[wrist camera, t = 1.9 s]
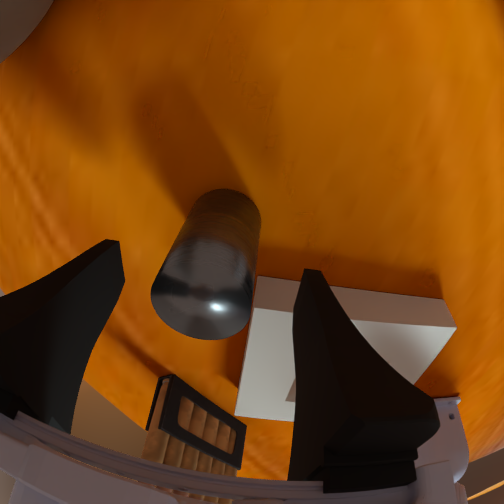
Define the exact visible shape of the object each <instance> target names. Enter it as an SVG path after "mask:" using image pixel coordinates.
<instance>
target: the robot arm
mask: <svg viewBox="0 0 504 504" xmlns="http://www.w3.org/2000/svg"><path fill="white" fill-rule="evenodd" d="M124 283H125V277H124V271H123V264H122V258H121V250H120V243H119V241H115V240H109V239H105V240H103V241H101V242H100V243H98V244H96V245H95V246H93V247H91V248H90V249H88V250H87V251H85V252H84V253H82V254H80V255H79V256H77V257H76V258H74V259H73V260H71V261H69V262H68V263H66V264H65V265H63V266H61V267H60V268H58V269H56V270H55V271H53V272H51V273H50V274H48V275H46V276H45V277H43V278H41V279H39V280H37V281H35V282H33V283H31V284H29V285H27V286H25V287H23V288H21V289H18V290H16V291H14V292H11V293H9V294H7V295H4V296H2V297H0V470H2V471H4V472H5V473H7V474H8V475H10V476H11V477H13V478H15V479H16V481H15V484H14V487H13V490H12V493H11V496H10V500H9V503H8V504H218V503H212V502H207V501H203V500H198V499H194V498H189V497H185V496H181V495H177V494H173V493H169V492H166V491H163V490H160V489H158V488H155V487H153V486H150V485H147V484H143V483H140V482H137V481H141V482H144V483H148V484H152V485H156V486H160V487H164V488H168V489H173V490H178V491H183V492H188V493H193V494H199V495H204V496H211V497H218V498H225V499H233V500H234V501H232V504H468V501H467V496H466V491H465V487H464V486H463V485H461V484H459V483H455V482H456V481H458V480H459V479H460V478H461V477H462V476H463V474H464V473H465V471H466V469H467V466H468V461H469V449H468V444H467V440H466V436H465V432H464V429H463V425H462V421H461V418H460V414H459V410H458V407H457V404H458V403H459V402H460V401H461V398H460V397H449V398H437V399H433V398H431V397H430V396H428V395H427V394H426V393H424V392H423V391H421V390H420V389H419V388H417V387H416V386H414V385H413V384H412V383H410V382H409V381H408V380H407V379H405V378H404V377H403V376H402V375H401V374H399V373H398V372H397V371H396V370H395V369H394V368H393V367H392V366H390V365H389V364H388V363H387V362H386V361H385V360H384V359H383V358H382V357H381V356H380V355H379V354H378V353H377V352H376V350H375V349H374V348H373V347H372V346H371V345H370V344H369V343H368V341H367V340H366V339H365V338H364V337H363V336H362V334H361V333H360V332H359V331H358V329H357V328H356V327H355V325H354V324H353V322H352V321H351V320H350V318H349V317H348V315H347V314H346V312H345V311H344V309H343V308H342V306H341V305H340V303H339V301H338V300H337V298H336V297H335V295H334V293H333V291H332V290H331V288H330V286H329V285H328V283H327V281H326V279H325V278H324V276H323V274H322V273H321V271H319V270H312V269H305V268H304V272H303V275H302V279H301V282H300V286H299V290H298V293H297V297H296V300H295V304H294V307H293V323H292V336H293V350H294V363H295V377H296V397H295V414H294V428H293V438H292V448H291V457H290V465H289V472H288V479H287V481H282V480H265V479H253V478H243V477H234V476H226V475H219V474H212V473H206V472H200V471H194V470H189V469H184V468H179V467H174V466H170V465H165V464H161V463H157V462H153V461H149V460H145V459H141V458H138V457H134V456H130V455H127V454H124V453H121V452H118V451H114V450H111V449H108V448H105V447H102V446H99V445H96V444H94V443H91V442H88V441H86V440H83V439H80V438H78V437H75V436H73V435H70V434H71V426H72V420H73V415H74V409H75V405H76V400H77V396H78V392H79V388H80V385H81V382H82V378H83V375H84V372H85V369H86V366H87V363H88V360H89V357H90V354H91V352H92V350H93V347H94V345H95V343H96V341H97V339H98V337H99V335H100V333H101V331H102V329H103V328H104V326H105V324H106V322H107V320H108V318H109V316H110V315H111V313H112V311H113V309H114V307H115V305H116V303H117V301H118V299H119V296H120V294H121V291H122V288H123V286H124ZM59 452H60V453H59ZM61 453H62V454H61ZM63 454H64V455H63ZM65 455H66V456H65ZM67 456H69V457H71V458H69V457H67ZM72 458H74V459H76V460H74V459H72ZM77 460H79V461H81V462H79V461H77ZM82 462H84V463H86V464H84V463H82ZM87 464H89V465H91V466H89V465H87ZM92 466H94V467H92ZM95 467H97V468H100V469H102V470H100V469H97V468H95ZM103 470H105V471H103ZM106 471H108V472H106ZM109 472H111V473H109ZM112 473H114V474H112ZM115 474H118V475H120V476H118V475H115ZM121 476H124V477H127V478H124V477H121ZM128 478H130V479H128ZM131 479H134V480H137V481H134V480H131Z"/></svg>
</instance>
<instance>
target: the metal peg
mask: <svg viewBox="0 0 504 504" xmlns="http://www.w3.org/2000/svg"><path fill="white" fill-rule="evenodd" d="M260 229H261V217H260V213H259V211H258V209H257V207H256V205H255V204H254V203H253V202H252V201H251V200H250V199H249V198H248V197H247V196H245V195H244V194H242V193H240V192H238V191H234V190H230V189H217V190H212V191H210V192H207V193H205V194H204V195H202V196H201V197H200V198H199V199H198V200H197V201H196V203H195V204H194V206H193V208H192V210H191V212H190V213H189V215H188V217H187V219H186V221H185V223H184V224H183V226H182V228H181V230H180V232H179V234H178V236H177V238H176V239H175V241H174V243H173V245H172V247H171V249H170V251H169V253H168V255H167V257H166V259H165V261H164V263H163V265H162V267H161V269H160V270H159V272H158V274H157V276H156V278H155V281H154V283H153V285H152V288H151V301H152V305H153V307H154V309H155V311H156V313H157V314H158V316H159V317H160V318H161V319H162V320H163V321H164V322H165V323H166V324H167V325H168V326H170V327H171V328H173V329H174V330H176V331H178V332H180V333H182V334H184V335H186V336H189V337H193V338H197V339H203V340H218V339H224V338H227V337H230V336H233V335H234V334H236V333H238V332H239V331H241V330H242V329H243V328H244V327H245V325H246V324H247V322H248V320H249V318H250V313H251V305H252V297H253V288H254V280H255V272H256V263H257V255H258V246H259V238H260Z"/></svg>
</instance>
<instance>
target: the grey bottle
mask: <svg viewBox="0 0 504 504" xmlns="http://www.w3.org/2000/svg"><path fill="white" fill-rule="evenodd" d="M53 1H54V0H0V63H1V62H3V61H4V60H5V59H6V58H7V57H8V56H10V55H11V54H12V53H13V52H14V51H15V50H16V49H17V48H18V47H19V46H20V45H21V44H22V43H23V42H24V41H25V40H26V38H27V37H28V36H29V35H30V34H31V33H32V31H33V30H34V29H35V28H36V27H37V25H38V24H39V23H40V21H41V20H42V19H43V17H44V16H45V14H46V13H47V11H48V9H49V8H50V6H51V4H52V3H53Z"/></svg>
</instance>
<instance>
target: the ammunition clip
mask: <svg viewBox="0 0 504 504" xmlns="http://www.w3.org/2000/svg"><path fill="white" fill-rule="evenodd" d="M246 428H247V426H246V425H245V424H243V423H242V422H240V421H239V420H237V419H236V418H234V417H233V416H231V415H230V414H228V413H227V412H225V411H224V410H222V409H221V408H220V407H218V406H217V405H215V404H214V403H212V402H211V401H210V400H208V399H207V398H205V397H204V396H203V395H201V394H200V393H199V392H197V391H196V390H195V389H193V388H192V387H191V386H189V385H188V384H187V383H185V382H184V381H183V380H181V379H180V378H179V377H178V376H176V375H169V376H165V377H161V378H158V382H157V386H156V390H155V394H154V398H153V401H152V405H151V409H150V413H149V417H148V421H147V425H146V429H145V430H146V431H148V434H147V438H146V441H145V445H144V449H143V452H142V457H141V459H145V460H149V461H153V462H157V463H161V464H165V465H170V466H174V467H179V468H184V469H189V470H194V471H200V472H206V473H212V474H219V475H226V476H234V477H236V475H237V470H240V469H241V463H242V456H243V449H244V442H245V435H246ZM138 482H140V483H143V484H147V485H150V486H153V487H154V485H152V484H148V483H144V482H141V481H138ZM156 488H158V489H160V490H163V491H166V492H169V493H172V490H173V489H168V488H164V487H160V486H157V487H156ZM173 494H177V495H181V496H185V497H188V495H189V498H194V499H198V500H203V501H207V502H212V503H218V504H231V501H232V499H225V498H218V497H211V496H204V495H199V494H193V493H188V492H183V491H178V490H173Z"/></svg>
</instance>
